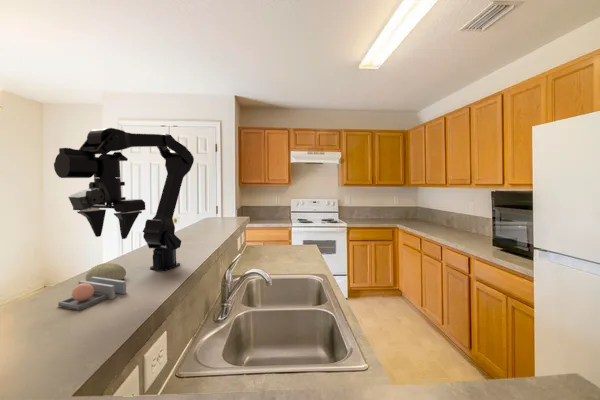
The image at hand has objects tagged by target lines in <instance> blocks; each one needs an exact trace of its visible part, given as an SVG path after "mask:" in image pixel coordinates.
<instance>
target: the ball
mask: <svg viewBox="0 0 600 400" xmlns="http://www.w3.org/2000/svg"><path fill="white" fill-rule="evenodd" d="M93 293H94V289H93V287H92V286H91V285H90V284H87V283H82V284H79V283H78V285H77V284H76V286H75V287H74V288H73V289H72V292H71V297H73V299H74V300H76V301H80V302H82V301H86V300H88V299H89V298H91V296H92V295H93Z"/></svg>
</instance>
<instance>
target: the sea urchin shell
mask: <svg viewBox="0 0 600 400" xmlns="http://www.w3.org/2000/svg"><path fill="white" fill-rule="evenodd" d="M126 276H127V271H126V269H125V267H123V266H122V265H120V264H117V263H115V262H113V263H112V262H106V263H99V264H97V265H95V266H93V267H92V268H90V269H89V271H87V273H86V274H85V281H89V282H91V277H101V278H108V279H114V280H121V281H123V279H124V278H126Z"/></svg>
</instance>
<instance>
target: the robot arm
mask: <svg viewBox="0 0 600 400" xmlns="http://www.w3.org/2000/svg"><path fill="white" fill-rule="evenodd" d="M138 147H140V148H143V147H144V148H146V147H147V148H151V147H155V148H156V147H157V149H158V150H159V155H160V156H161V157H162V158H163V160H165V163H164V164H165V165H164V167H165V170H166V172H167V173H166V174H167V175H166V178H165V182H164V186H163V188H162V191H161V192H162V193H161V196H160V199H159V202H158V205H157V210H156V214H155V215H154V216H153V218H152V219H149V218H148V219H146V220H145V225H144V228H143V230H142V233H143V240H144V241H145V242H146V245H147V247H148V249H152V252H153V254H152V265H150V267H149V269H152V270H157V271H159V270H160V271H168V270H171V269H173V268H175V267H178V266H180V265H181V263H180V262H177V249H179V248H181V245H182V240H181V239H180V238H179V237H178V236H177V235H176V234H175V230H176V227H175V226H176V225H175V223H174V220H173V218H174V214H175V210H176V206H177V204H178V199H179V195H180V193H181V192H180V191H181V189H182V185H183V181H184V177H186V175H187V174H188V173H189V172H190V171H191V169H192V166H193V165H194V161H195V159H194V158H195V157H194V156H193V154H192V153H191V151H190V150H189V149H188V148H187V147H186V146H185V145H184V144H182V143H180V142H179V141H178V140H176V139H175V138H174V137H173V136H172V135H171V134H168V133H160V134H159V133H157V134H155V133H131V132H128V131H125V130H124V129H118V128H114V127H106V128H98V129H91V130H89V132H88V133H87V137H86V139H85V141H84V143H83V144H82V145H81V146H80V148H79V149H75V148H71V147H60V148H59V149H58V154H57V155H56V157H55V159H54V162H53V169H54V171H55V174H56V175H57V176H58V177H59V178H61V179H91V178H92V177H93V181H90V182H89V183H88V188H87V189H84V190H80V191H78V192H75V193H73V194H70V195H68V200H69V201H70V203H71V205H72V211H76V213H77V214H79V215H82V216H83V217H84V218H85V219H86V220H87V222H88V224H89V226H90V227H91V230H92V231H93V234H94V236H95V237H96V238H99V237H101V236H102V232H103V228H104V222H105V217H106V211H107V209H113V210H114V211H115V212H116V213H115V212H114V213H113V215H114V216H115V217H116V218H117V219H118V223H119V232H120V236H121V239H122V240H125V239H127V238H128V236H129V234H130V232H131V229H132V228H133V226H134V224H135V222H136V220H137V219H138V216H139V215H140V214H142V213H143V212H142V211H146V202H145V201H144V200H143V199H140V198H138V199H136V198H130V199H126V198H127V197H125V196H123V195H122V186H126V183H125V181H122V180H121V179H122V178H121V163H120V162H128V157H126V156H125V155H123V153H122V152H121V151H122V150H126V149H129V148H138ZM110 152H113V153H110ZM96 155H99V156H96Z"/></svg>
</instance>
